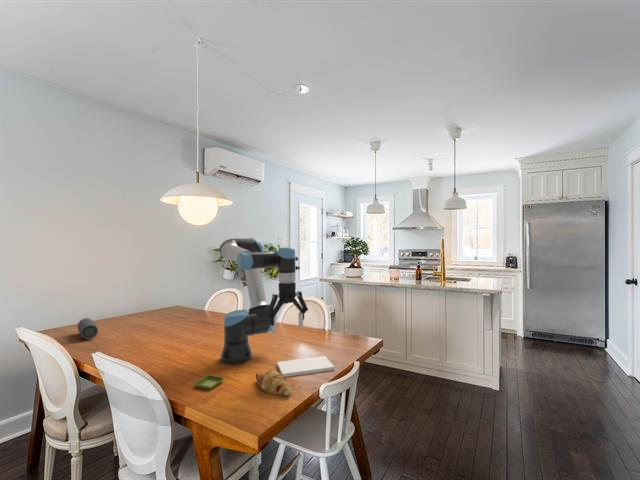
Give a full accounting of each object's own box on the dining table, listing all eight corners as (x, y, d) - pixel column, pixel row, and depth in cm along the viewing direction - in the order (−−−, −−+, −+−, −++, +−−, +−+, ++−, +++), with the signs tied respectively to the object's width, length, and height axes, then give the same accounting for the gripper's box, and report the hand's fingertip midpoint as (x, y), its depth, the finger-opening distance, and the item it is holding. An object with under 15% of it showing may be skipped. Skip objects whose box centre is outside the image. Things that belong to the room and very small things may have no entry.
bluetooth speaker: (76, 334, 205) (76, 318, 205) (94, 331, 211) (93, 316, 211) (79, 342, 188) (79, 325, 188) (99, 339, 194) (98, 322, 194)
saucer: (210, 392, 126) (210, 386, 126) (193, 388, 129) (193, 383, 129) (224, 382, 134) (224, 377, 134) (208, 379, 137) (208, 374, 137)
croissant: (295, 403, 122) (302, 382, 125) (278, 400, 116) (286, 377, 118) (261, 385, 136) (268, 366, 139) (244, 382, 130) (251, 362, 132)
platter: (282, 377, 137) (282, 373, 137) (277, 365, 151) (277, 362, 151) (334, 370, 144) (334, 366, 144) (325, 359, 158) (325, 356, 158)
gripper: (265, 285, 131) (265, 336, 131) (315, 280, 145) (315, 326, 145) (257, 283, 137) (258, 332, 137) (306, 279, 151) (306, 323, 151)
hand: (287, 329), depth 141 cm, fingers open, 13 cm apart
